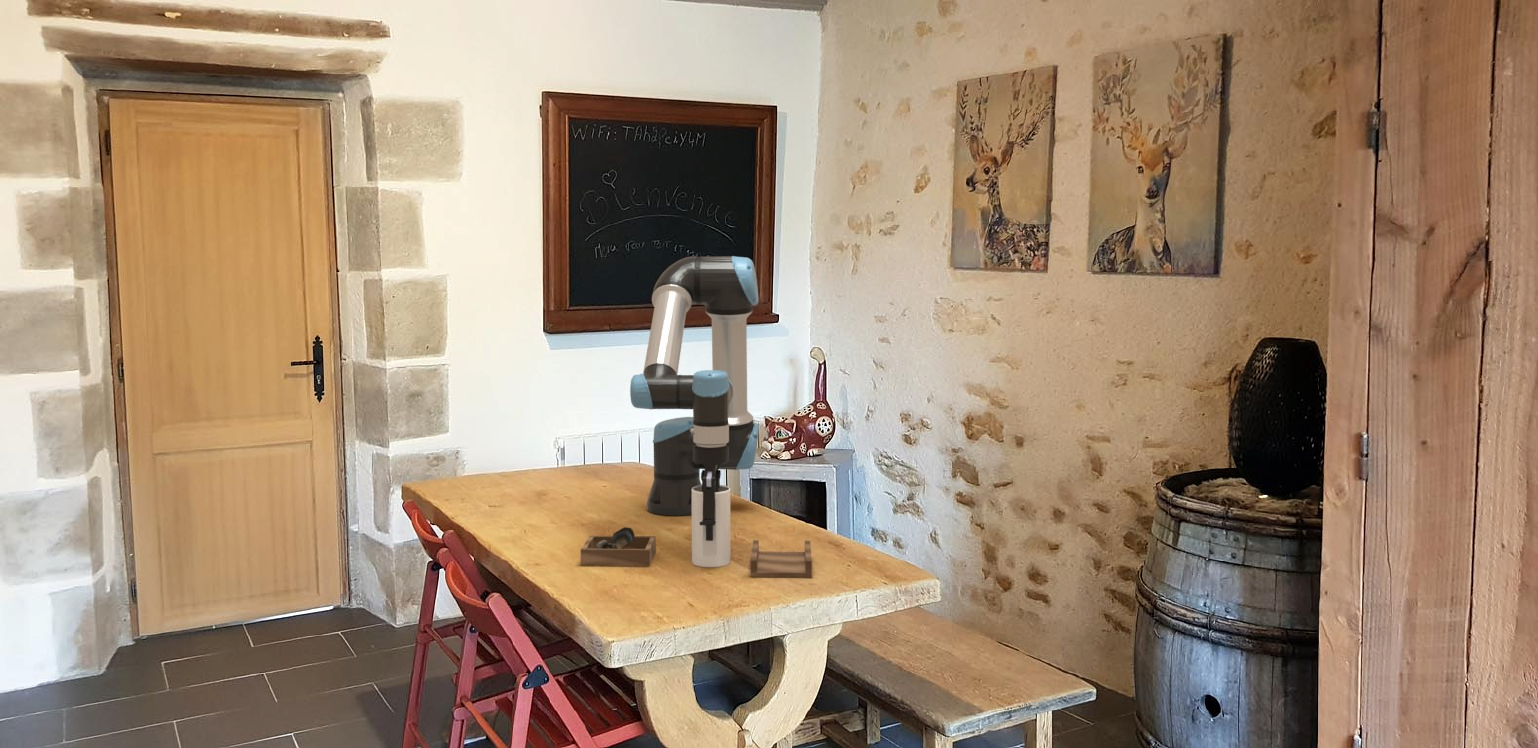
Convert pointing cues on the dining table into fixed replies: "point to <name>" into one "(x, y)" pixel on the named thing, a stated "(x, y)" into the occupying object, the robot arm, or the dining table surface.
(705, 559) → the cup
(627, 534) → the eagle figurine
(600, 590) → the dining table surface
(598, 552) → the figurine frame
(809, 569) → the brown wooden tray
